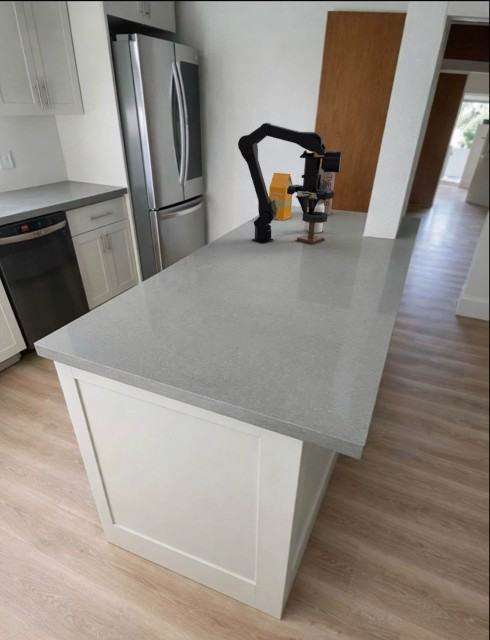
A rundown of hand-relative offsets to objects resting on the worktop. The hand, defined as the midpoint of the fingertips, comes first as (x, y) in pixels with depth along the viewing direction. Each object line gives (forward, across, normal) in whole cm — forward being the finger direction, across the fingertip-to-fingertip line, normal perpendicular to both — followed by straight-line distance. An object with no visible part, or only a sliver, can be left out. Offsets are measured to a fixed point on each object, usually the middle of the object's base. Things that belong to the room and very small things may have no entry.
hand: (307, 215), depth 167 cm
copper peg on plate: (+11, +2, -6) cm, 12 cm away
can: (+11, +9, -18) cm, 23 cm away
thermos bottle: (+11, +28, -49) cm, 58 cm away
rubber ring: (+1, -4, 0) cm, 4 cm away
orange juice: (+11, +38, -27) cm, 48 cm away
